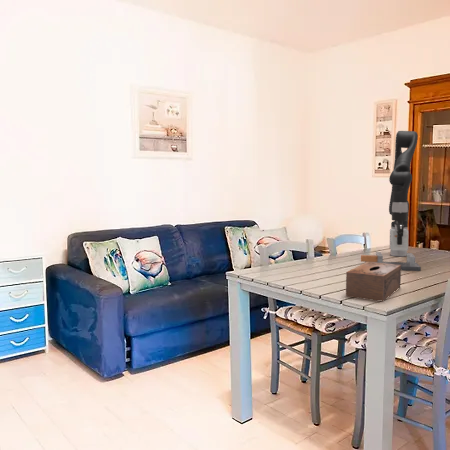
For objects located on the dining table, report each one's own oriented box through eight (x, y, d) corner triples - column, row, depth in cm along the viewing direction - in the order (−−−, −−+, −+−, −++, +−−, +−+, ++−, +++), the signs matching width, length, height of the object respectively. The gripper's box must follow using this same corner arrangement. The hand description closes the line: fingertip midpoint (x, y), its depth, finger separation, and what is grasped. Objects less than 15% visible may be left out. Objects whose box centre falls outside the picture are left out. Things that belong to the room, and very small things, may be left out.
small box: (405, 248, 237) (405, 228, 235) (408, 250, 231) (408, 230, 230) (389, 248, 237) (389, 228, 236) (391, 250, 232) (392, 230, 231)
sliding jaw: (360, 260, 245) (360, 251, 245) (380, 261, 243) (380, 252, 242) (361, 264, 234) (361, 255, 233) (382, 265, 231) (382, 256, 231)
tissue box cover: (382, 302, 173) (383, 276, 172) (345, 296, 181) (346, 272, 180) (400, 288, 194) (401, 265, 193) (366, 284, 202) (366, 261, 201)
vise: (364, 264, 245) (365, 251, 244) (416, 266, 238) (417, 253, 238) (366, 269, 233) (366, 255, 233) (420, 271, 227) (421, 257, 226)
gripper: (390, 210, 240) (389, 241, 242) (393, 212, 226) (392, 245, 228) (405, 210, 238) (404, 242, 240) (409, 212, 224) (408, 246, 226)
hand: (398, 243), depth 234 cm, fingers closed on small box, 6 cm apart
